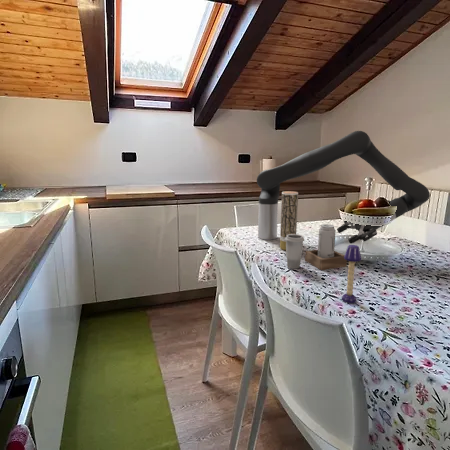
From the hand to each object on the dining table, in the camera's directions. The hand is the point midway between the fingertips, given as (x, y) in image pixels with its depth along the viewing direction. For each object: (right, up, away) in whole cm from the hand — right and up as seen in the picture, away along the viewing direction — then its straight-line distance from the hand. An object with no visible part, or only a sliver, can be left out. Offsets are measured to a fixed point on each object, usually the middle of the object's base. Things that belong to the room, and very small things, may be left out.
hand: (343, 236), depth 135 cm
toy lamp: (-10, -18, -33) cm, 39 cm away
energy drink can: (-8, -11, -3) cm, 14 cm away
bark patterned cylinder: (-19, -6, +16) cm, 26 cm away
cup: (-21, -11, -6) cm, 24 cm away
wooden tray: (-8, -10, -3) cm, 14 cm away
